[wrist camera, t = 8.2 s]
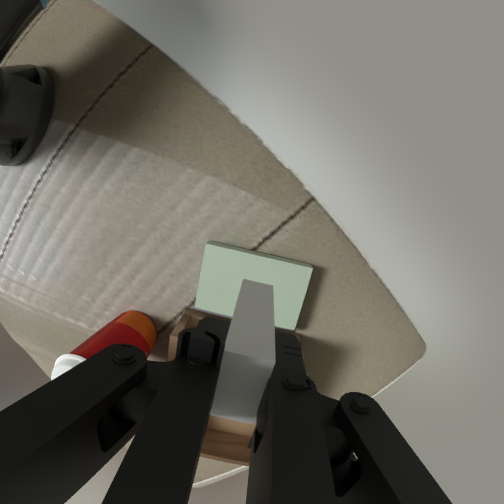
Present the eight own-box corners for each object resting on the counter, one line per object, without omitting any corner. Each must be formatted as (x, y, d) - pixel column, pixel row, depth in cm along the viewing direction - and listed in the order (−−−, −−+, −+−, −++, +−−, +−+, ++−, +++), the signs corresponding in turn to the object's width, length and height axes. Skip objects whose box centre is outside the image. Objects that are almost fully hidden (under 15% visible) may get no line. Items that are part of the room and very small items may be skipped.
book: (195, 306, 32) (207, 240, 30) (293, 328, 32) (312, 264, 30) (192, 311, 30) (204, 243, 29) (294, 335, 30) (314, 268, 29)
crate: (187, 308, 32) (170, 334, 26) (299, 333, 32) (305, 365, 26) (174, 414, 36) (161, 445, 30) (261, 434, 36) (260, 467, 30)
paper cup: (121, 356, 35) (69, 421, 21) (103, 304, 33) (35, 358, 19) (173, 355, 34) (131, 433, 20) (156, 299, 32) (96, 363, 19)
